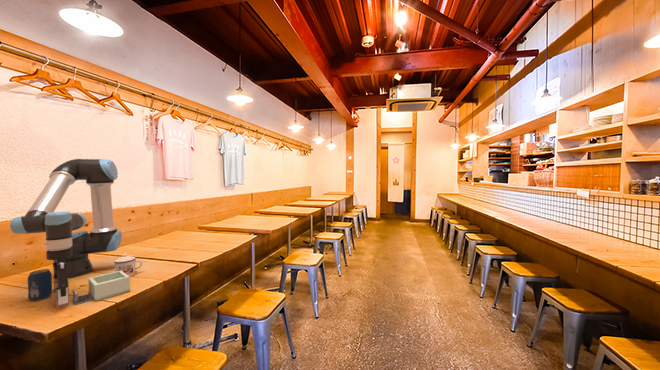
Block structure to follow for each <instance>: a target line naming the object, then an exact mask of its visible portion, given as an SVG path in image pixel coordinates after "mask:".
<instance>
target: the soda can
mask: <svg viewBox="0 0 660 370" xmlns="http://www.w3.org/2000/svg"><path fill="white" fill-rule="evenodd" d="M52 276H53V275H52V272H51V270H50V269H48V268H46V269H45V268H44V269H39V270H34V271H32V272H30V273H29V275H28V276H27V293H28V294H27V297H28V299H29V301H31V302H36V301H37V302H38V301H42V300H45V299H47V298H49V297H51V295H52V294H53V278H52Z"/></svg>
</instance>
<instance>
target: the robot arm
mask: <svg viewBox="0 0 660 370" xmlns="http://www.w3.org/2000/svg"><path fill="white" fill-rule="evenodd" d="M118 173H119V172H118V168H117V166H116V164H115V162H113V161H112V160H111V159H106V158H105V159H103V158H100V159H99V158H98V159H97V158H95V159H94V158H89V159H88V158H74V159H71V160H67V161H65V162H63V163H61V164H59V165H58V166H56V167H55V168H54V169H53V170H52V171H51V172H50V174H49V177H48V178H49V180H48V181H47V183H46V185H45V186H44V187H43V189H42V190H41V192H40V193H39V195H38V196H37V198H36V199H35V200H34V202H33V203H32V205H31V207H29V209H28V210H27V212H26V214H25V215H21V216H16V217H14V218H12V220H11V221H10V224H9V228H10V231H11V232H12V233H13V234H16V235H30V234H38V233H45V242H44V243H43V245H44V246H45V247H46V253H45V254H46V258H45V259H46V260H47V261H53V262H52V269H53V279H56V278H58V288H56V290H58V305H61V304H65V303H68V289H69V287H70V286H69V281H68V279H69V278H76V277H79V276H83V275H86V274H89V273H92V272H93V271H94V269H93V268H94V266H93V264H92V262H91V260H90V258H89V255H90V254H99V253H109V252H115V251H117V250H118V249H119V248H120V246H121V243H122V238H123V236H122V235H123V233H122V231H121V230H118V227H117V226H115V225H114V215H113V214H114V213H113V202H112V185H113V184H114V182H115V180H117V179H118V177H119V176H118ZM77 181H85V183H86V185H87V186H89V188H90V199H91V200H90V201H91V202H90V203H91V213H92V223H93V225H92V226H93V228H92V229H91V230H89V231H88V230H79V229H81V228H83V227H84V226H86V223H87V217H86V216H85V215H84V214H82V213H79V212H75V213H71V212H70V211H55V210H56V209H57V207H58V206H59V204H60V202H61V200H62V199H63V197H64V196H65V194H66V192H67V191H68V189H69V187H70V186H72V185H73V184H75V182H77ZM75 230H79V231H75ZM73 231H74V232H73ZM63 284H65V285H63Z"/></svg>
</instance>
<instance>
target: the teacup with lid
mask: <svg viewBox="0 0 660 370" xmlns="http://www.w3.org/2000/svg"><path fill="white" fill-rule="evenodd" d="M137 262H139V263H140V265H139V266H138V267H136V263H137ZM113 263H114V272H117V271H123V272H124V273H125V274H127V275H128V276H129V277H130V278H131V277H132V276H135V275H136V270H138V269H140V268H142V267H143V266H142V265H143V261H142V260H140V259H136V257H135V256H132V255H128V253H124V254H122V256H120V257H118V258H116V259H115V260H114V261H113Z"/></svg>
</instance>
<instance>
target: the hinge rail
mask: <svg viewBox="0 0 660 370" xmlns="http://www.w3.org/2000/svg"><path fill="white" fill-rule="evenodd" d="M71 292H72V301H73V303H74V305H77V306H78V305H80V304H83V303H87V302H91V301H94V298H93V297H92V295H91V294H89V293H88V294H83V295H80V296H79V295H78V291H77V289H75V288H73V289H72V291H71Z"/></svg>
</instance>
